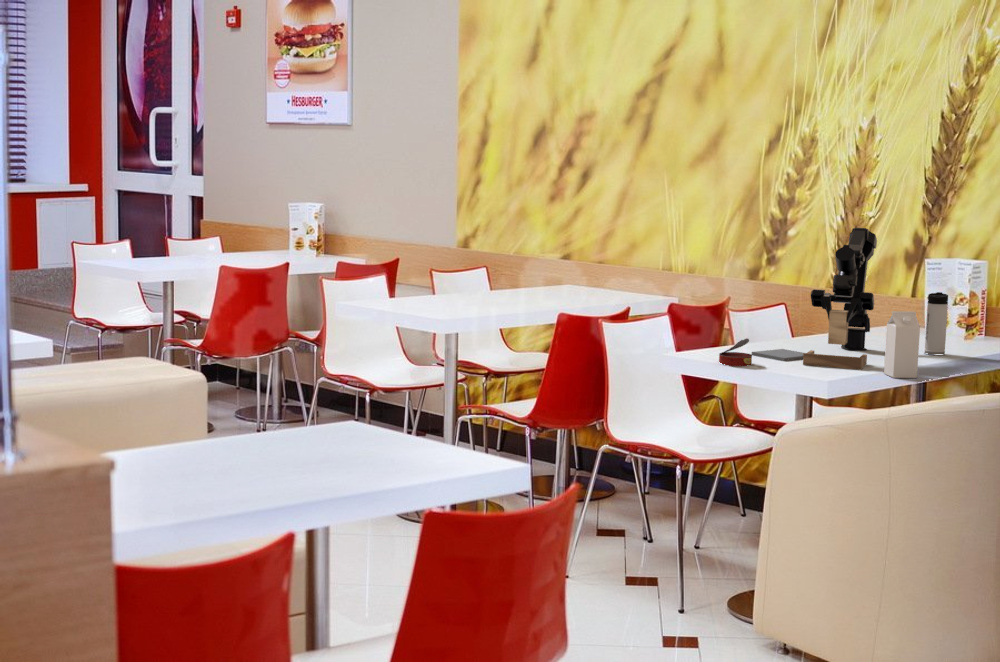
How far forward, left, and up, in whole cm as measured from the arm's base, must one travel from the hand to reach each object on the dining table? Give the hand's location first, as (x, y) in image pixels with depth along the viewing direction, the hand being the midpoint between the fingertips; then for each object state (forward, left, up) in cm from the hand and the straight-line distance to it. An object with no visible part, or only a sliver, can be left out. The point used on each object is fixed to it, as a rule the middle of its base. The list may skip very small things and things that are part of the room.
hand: (838, 320), depth 393 cm
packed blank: (-1, -1, -7) cm, 7 cm away
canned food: (+32, -1, -14) cm, 35 cm away
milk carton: (-10, +23, -14) cm, 28 cm away
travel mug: (-41, -18, -13) cm, 47 cm away
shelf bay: (+1, +1, -13) cm, 13 cm away
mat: (+11, -15, -13) cm, 23 cm away
